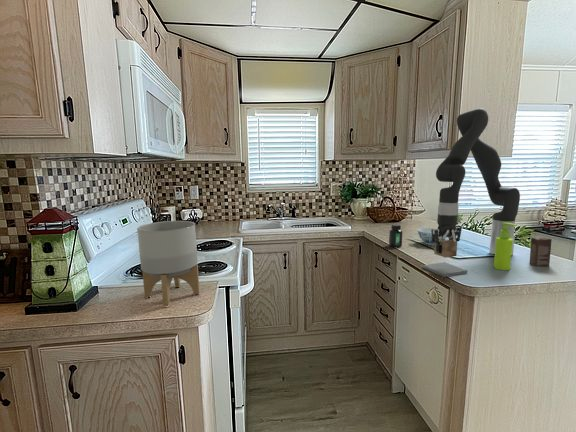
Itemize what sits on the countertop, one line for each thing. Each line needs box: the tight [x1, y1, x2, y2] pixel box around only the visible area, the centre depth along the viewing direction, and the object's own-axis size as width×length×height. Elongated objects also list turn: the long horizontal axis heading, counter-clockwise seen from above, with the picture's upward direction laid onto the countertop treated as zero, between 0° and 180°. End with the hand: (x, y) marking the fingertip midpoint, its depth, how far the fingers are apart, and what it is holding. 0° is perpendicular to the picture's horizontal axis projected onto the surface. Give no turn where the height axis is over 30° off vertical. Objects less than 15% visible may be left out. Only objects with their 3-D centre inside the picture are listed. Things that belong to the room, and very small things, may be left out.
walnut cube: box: [433, 238, 458, 259], centre depth 134 cm, size 6×6×6 cm
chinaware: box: [417, 227, 441, 246], centre depth 179 cm, size 15×15×8 cm
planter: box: [136, 220, 201, 307], centre depth 112 cm, size 19×19×26 cm
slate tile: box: [422, 261, 468, 278], centre depth 135 cm, size 12×12×1 cm
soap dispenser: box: [493, 223, 518, 271], centre depth 135 cm, size 6×7×20 cm
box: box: [529, 237, 552, 267], centre depth 139 cm, size 6×4×12 cm
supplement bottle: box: [388, 223, 403, 249], centre depth 174 cm, size 7×7×12 cm
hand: (445, 252), depth 134 cm, fingers closed on walnut cube, 6 cm apart
